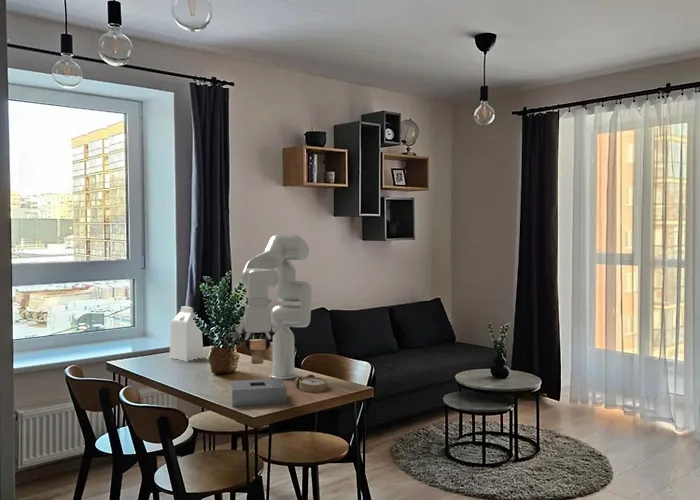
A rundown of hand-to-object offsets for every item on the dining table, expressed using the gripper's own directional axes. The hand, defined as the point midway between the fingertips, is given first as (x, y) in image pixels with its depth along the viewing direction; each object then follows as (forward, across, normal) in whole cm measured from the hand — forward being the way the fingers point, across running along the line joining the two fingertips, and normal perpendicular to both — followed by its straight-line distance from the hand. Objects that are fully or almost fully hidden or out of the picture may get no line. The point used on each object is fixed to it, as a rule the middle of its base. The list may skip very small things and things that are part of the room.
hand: (257, 349), depth 245 cm
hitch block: (+19, 0, 0) cm, 19 cm away
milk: (+19, +27, -88) cm, 94 cm away
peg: (+5, 0, 0) cm, 5 cm away
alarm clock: (+20, -23, -15) cm, 34 cm away
